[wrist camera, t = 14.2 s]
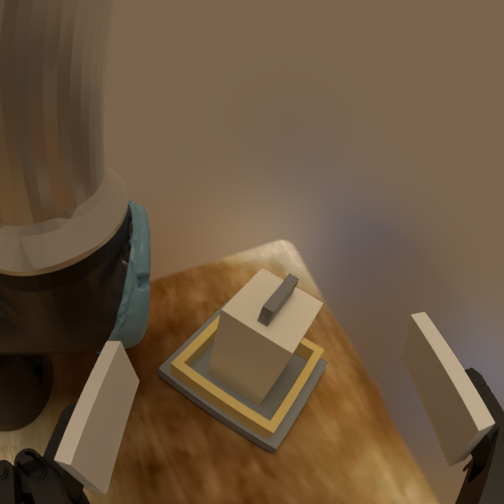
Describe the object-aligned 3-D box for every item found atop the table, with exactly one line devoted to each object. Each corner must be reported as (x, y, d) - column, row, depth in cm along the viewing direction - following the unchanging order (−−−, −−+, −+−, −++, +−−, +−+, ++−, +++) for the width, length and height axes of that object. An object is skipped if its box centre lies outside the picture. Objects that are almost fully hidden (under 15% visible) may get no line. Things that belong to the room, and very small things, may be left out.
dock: (158, 375, 34) (157, 357, 31) (225, 309, 44) (230, 288, 41) (271, 453, 29) (283, 444, 26) (322, 369, 39) (335, 352, 36)
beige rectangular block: (207, 372, 33) (224, 293, 25) (240, 335, 39) (266, 252, 30) (258, 406, 31) (300, 340, 23) (287, 364, 37) (331, 289, 28)
